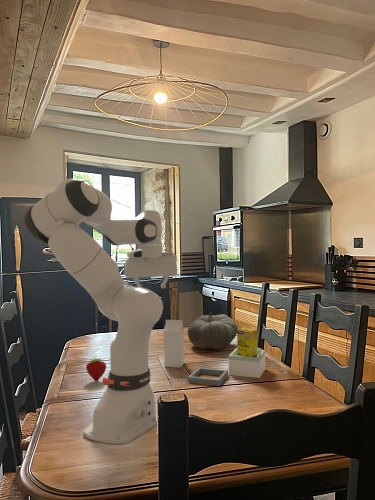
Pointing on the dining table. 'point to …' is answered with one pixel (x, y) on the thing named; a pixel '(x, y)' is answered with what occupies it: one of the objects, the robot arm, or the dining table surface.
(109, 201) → the robot arm
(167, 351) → the milk carton
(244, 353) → the supplement box
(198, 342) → the gourd
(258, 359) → the white box and frame
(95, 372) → the strawberry
